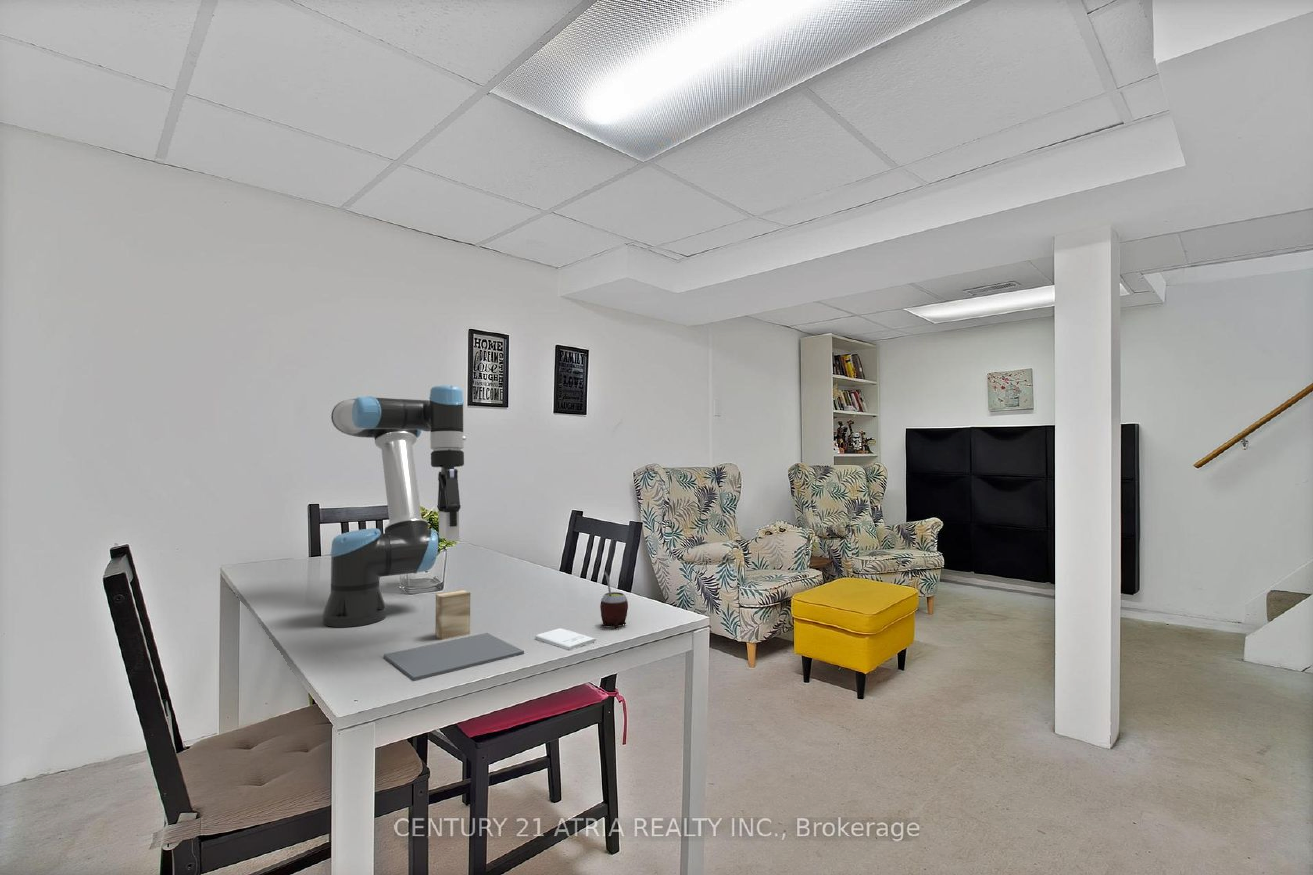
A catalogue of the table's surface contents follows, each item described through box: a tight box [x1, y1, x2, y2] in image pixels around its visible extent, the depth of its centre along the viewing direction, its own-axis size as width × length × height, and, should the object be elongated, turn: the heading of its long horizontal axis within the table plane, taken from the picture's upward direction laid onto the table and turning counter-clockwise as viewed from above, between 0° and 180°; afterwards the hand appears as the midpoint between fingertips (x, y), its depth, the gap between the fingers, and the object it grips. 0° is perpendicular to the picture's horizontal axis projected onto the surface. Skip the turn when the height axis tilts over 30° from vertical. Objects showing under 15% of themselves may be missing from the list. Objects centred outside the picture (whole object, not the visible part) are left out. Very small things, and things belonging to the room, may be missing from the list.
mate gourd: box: [599, 570, 629, 629], centre depth 156 cm, size 8×8×15 cm
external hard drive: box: [534, 627, 597, 651], centre depth 144 cm, size 2×8×12 cm
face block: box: [434, 589, 471, 640], centre depth 148 cm, size 4×7×10 cm, turn 132°
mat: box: [383, 632, 525, 681], centre depth 133 cm, size 18×24×1 cm
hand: (448, 539), depth 144 cm, fingers open, 13 cm apart
